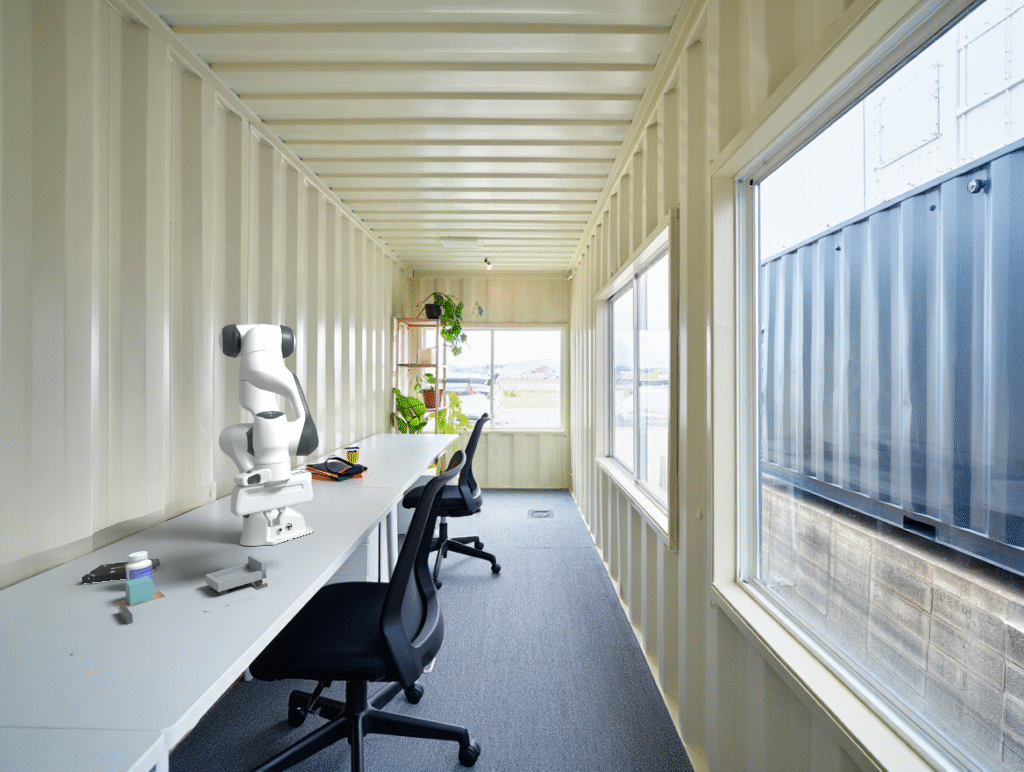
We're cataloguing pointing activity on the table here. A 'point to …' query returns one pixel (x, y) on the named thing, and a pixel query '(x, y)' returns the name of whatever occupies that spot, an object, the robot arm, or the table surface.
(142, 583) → the block
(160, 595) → the pad
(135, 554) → the pill bottle
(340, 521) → the table surface
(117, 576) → the disk drive
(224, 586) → the grey sliding tray
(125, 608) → the rails
